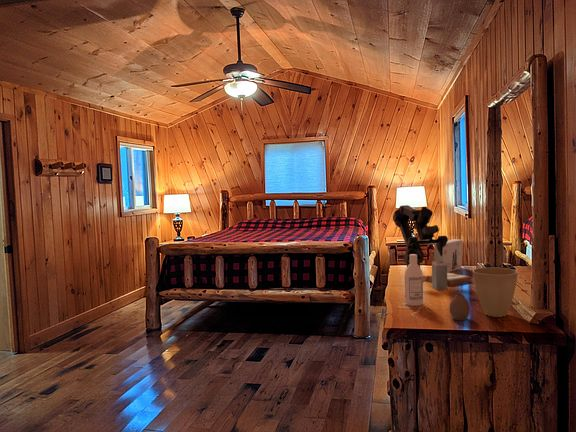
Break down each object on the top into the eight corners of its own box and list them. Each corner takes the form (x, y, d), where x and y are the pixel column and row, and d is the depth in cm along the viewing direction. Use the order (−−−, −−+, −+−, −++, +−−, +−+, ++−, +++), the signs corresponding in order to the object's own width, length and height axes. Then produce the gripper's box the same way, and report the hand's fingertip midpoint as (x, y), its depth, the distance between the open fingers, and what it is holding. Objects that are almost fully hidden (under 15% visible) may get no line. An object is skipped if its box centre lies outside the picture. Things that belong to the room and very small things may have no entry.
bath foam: (427, 304, 188) (426, 254, 187) (413, 307, 185) (412, 256, 184) (415, 301, 195) (414, 252, 193) (401, 303, 192) (400, 254, 190)
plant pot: (519, 311, 175) (519, 268, 173) (516, 322, 162) (515, 276, 161) (476, 307, 182) (476, 266, 181) (469, 317, 169) (469, 273, 168)
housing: (432, 287, 217) (431, 261, 216) (442, 286, 217) (442, 261, 216) (436, 290, 212) (436, 263, 211) (447, 289, 212) (447, 262, 211)
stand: (427, 281, 230) (427, 275, 230) (447, 277, 237) (447, 271, 237) (450, 286, 218) (450, 280, 218) (470, 281, 225) (470, 276, 225)
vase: (446, 316, 172) (446, 292, 171) (464, 315, 172) (464, 291, 172) (454, 322, 165) (454, 297, 164) (473, 321, 165) (473, 296, 165)
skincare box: (442, 274, 245) (442, 243, 244) (433, 273, 249) (432, 243, 248) (462, 268, 259) (462, 239, 258) (453, 267, 263) (453, 238, 262)
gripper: (408, 220, 224) (417, 246, 214) (446, 218, 226) (456, 244, 216) (402, 235, 233) (411, 261, 223) (439, 233, 235) (449, 259, 224)
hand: (432, 256), depth 221 cm, fingers open, 9 cm apart
